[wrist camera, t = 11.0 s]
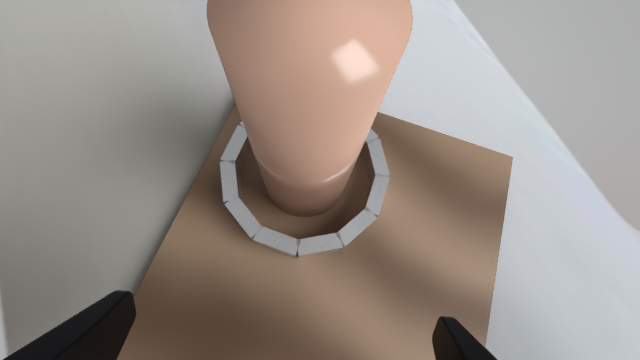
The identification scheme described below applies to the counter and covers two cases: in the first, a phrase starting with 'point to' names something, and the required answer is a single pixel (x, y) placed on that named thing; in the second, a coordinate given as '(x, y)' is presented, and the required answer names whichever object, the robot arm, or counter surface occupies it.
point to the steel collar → (313, 245)
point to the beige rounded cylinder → (308, 86)
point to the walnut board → (330, 261)
